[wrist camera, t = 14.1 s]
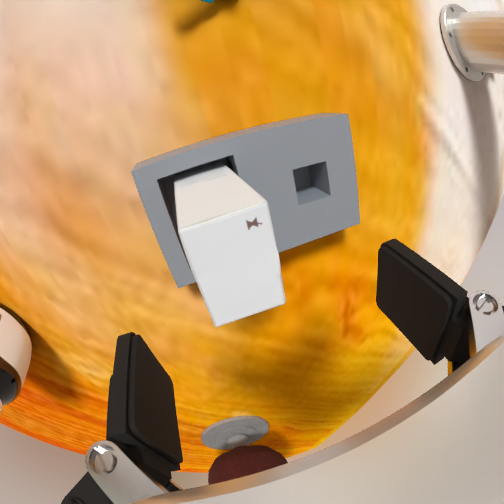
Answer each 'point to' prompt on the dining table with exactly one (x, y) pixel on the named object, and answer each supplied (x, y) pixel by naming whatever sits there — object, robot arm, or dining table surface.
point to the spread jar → (12, 355)
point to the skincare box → (228, 243)
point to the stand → (264, 181)
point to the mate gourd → (239, 448)
